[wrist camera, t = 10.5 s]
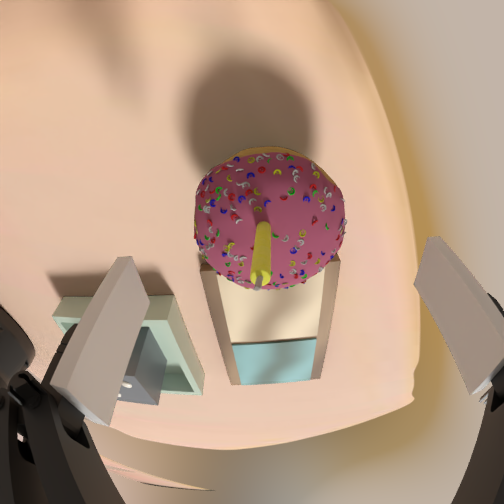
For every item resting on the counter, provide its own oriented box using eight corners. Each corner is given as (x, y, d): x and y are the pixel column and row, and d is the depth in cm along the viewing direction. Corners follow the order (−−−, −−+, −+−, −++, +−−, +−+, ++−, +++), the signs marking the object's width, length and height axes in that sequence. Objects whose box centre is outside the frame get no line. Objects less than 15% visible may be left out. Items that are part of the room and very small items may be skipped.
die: (123, 358, 29) (110, 399, 24) (102, 326, 26) (83, 370, 21) (167, 360, 29) (157, 406, 24) (149, 327, 26) (134, 377, 21)
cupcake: (181, 170, 18) (103, 286, 8) (295, 112, 16) (376, 157, 6) (241, 261, 22) (236, 403, 12) (341, 218, 20) (409, 348, 10)
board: (231, 378, 32) (231, 386, 31) (201, 264, 22) (199, 273, 21) (318, 372, 32) (320, 379, 31) (337, 253, 22) (341, 262, 21)
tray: (112, 368, 32) (106, 386, 29) (63, 296, 24) (51, 316, 22) (204, 374, 31) (202, 395, 29) (174, 294, 24) (167, 320, 21)
